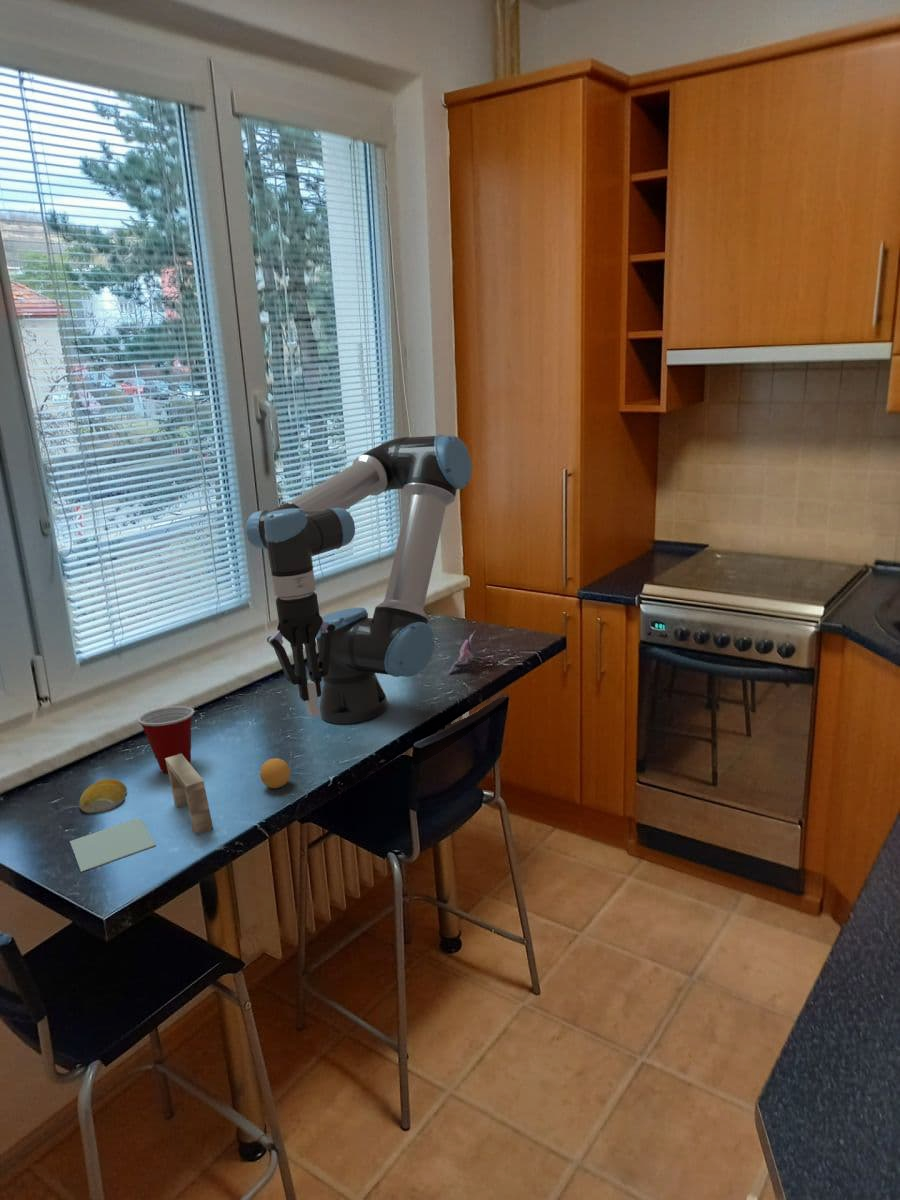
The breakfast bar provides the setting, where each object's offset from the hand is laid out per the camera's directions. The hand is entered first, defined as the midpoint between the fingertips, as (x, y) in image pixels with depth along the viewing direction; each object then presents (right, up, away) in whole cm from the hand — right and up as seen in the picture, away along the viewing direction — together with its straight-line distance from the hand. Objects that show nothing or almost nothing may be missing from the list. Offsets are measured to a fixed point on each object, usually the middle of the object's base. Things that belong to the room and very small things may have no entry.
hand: (313, 714), depth 163 cm
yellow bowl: (-40, -17, 0) cm, 43 cm away
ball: (-7, -11, -2) cm, 13 cm away
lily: (+30, +4, +50) cm, 59 cm away
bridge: (-20, -17, -9) cm, 28 cm away
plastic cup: (-30, -13, +12) cm, 34 cm away
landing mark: (-32, -20, -16) cm, 41 cm away
